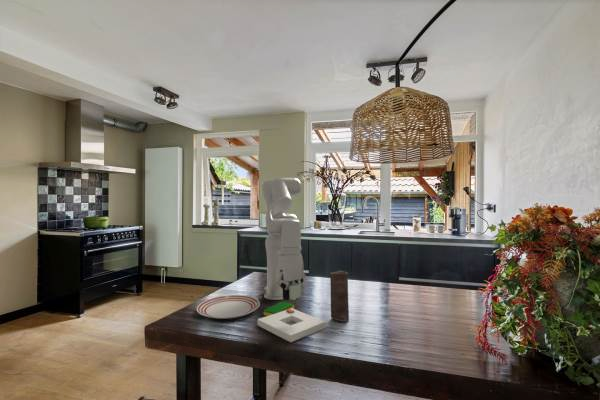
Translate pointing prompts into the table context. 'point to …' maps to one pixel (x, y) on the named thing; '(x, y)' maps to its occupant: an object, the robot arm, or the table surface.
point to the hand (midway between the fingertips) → (291, 297)
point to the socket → (291, 324)
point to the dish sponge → (278, 308)
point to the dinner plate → (228, 306)
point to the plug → (294, 290)
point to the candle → (339, 296)
